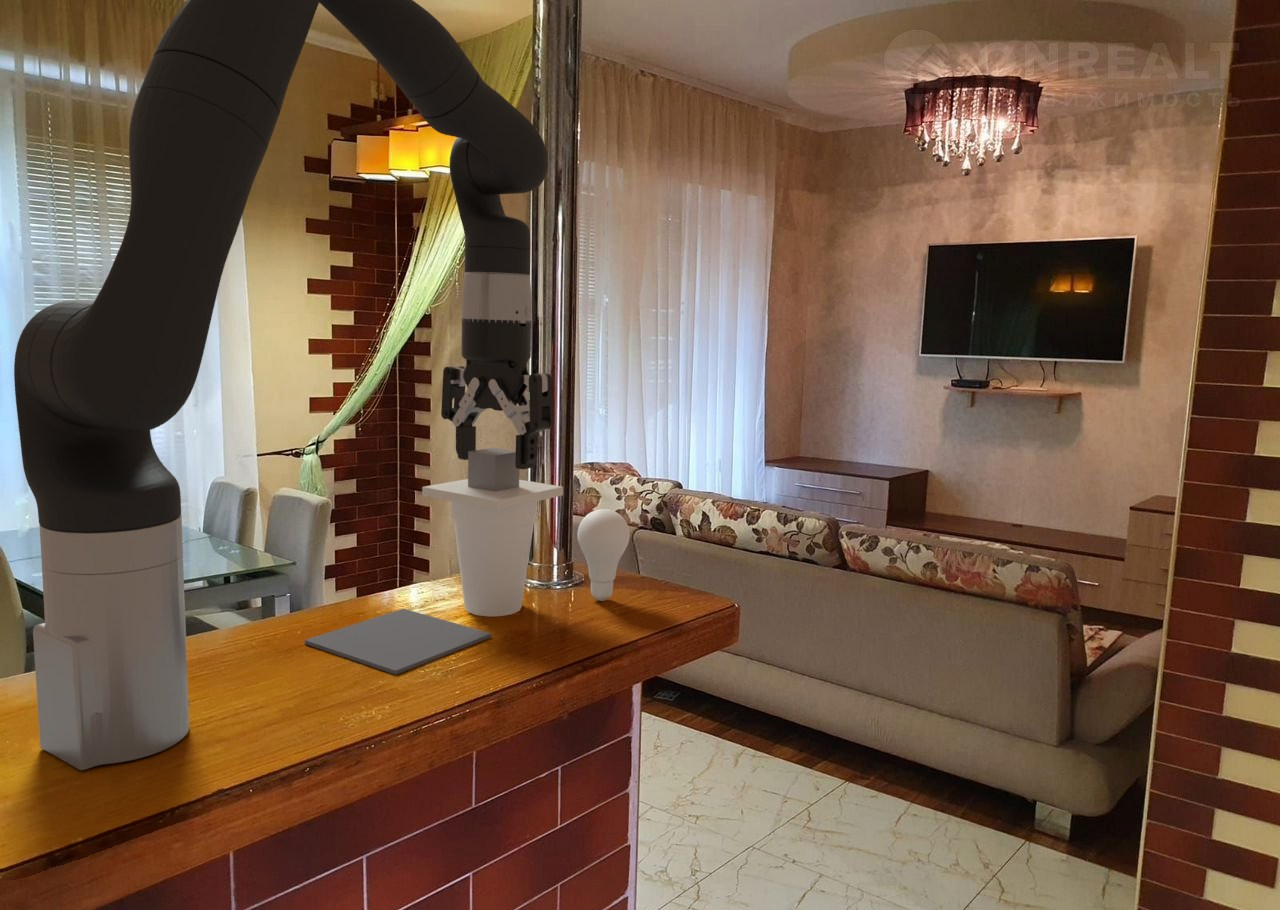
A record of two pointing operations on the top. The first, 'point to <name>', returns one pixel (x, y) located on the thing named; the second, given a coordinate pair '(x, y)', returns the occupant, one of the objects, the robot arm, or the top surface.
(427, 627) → the mat
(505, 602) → the foam cup
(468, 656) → the top surface
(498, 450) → the cover
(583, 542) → the lightbulb
